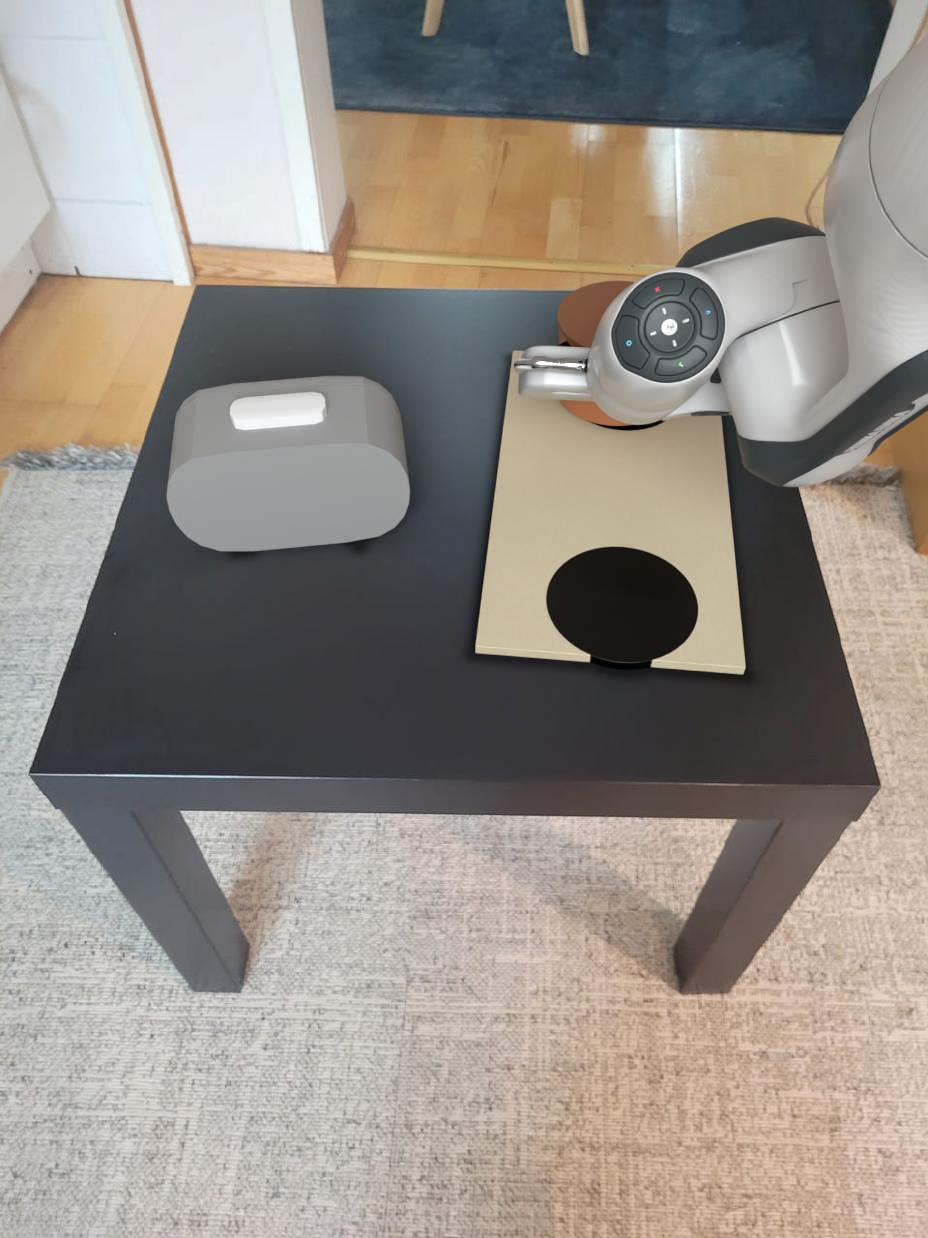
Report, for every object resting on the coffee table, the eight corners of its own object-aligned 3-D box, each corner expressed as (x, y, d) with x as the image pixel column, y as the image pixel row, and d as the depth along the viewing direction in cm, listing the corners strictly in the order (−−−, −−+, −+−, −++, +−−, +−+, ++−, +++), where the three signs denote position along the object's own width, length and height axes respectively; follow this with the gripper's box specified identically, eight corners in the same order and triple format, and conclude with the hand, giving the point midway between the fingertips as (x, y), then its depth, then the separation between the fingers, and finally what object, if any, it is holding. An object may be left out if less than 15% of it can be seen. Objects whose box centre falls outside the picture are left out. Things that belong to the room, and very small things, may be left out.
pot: (625, 338, 104) (638, 248, 96) (708, 394, 97) (730, 304, 89) (516, 392, 98) (519, 302, 90) (596, 456, 92) (608, 365, 83)
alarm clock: (405, 472, 92) (396, 356, 82) (414, 541, 86) (405, 427, 76) (194, 491, 91) (157, 376, 80) (188, 563, 85) (147, 449, 74)
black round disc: (693, 559, 84) (695, 551, 84) (700, 676, 76) (702, 669, 76) (549, 548, 85) (549, 541, 85) (540, 663, 77) (541, 656, 77)
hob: (714, 368, 102) (716, 361, 101) (743, 674, 76) (746, 667, 76) (512, 357, 104) (513, 349, 103) (475, 653, 78) (475, 646, 77)
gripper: (510, 399, 77) (514, 418, 90) (763, 414, 75) (728, 431, 89) (516, 320, 76) (518, 351, 90) (771, 334, 75) (734, 363, 88)
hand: (624, 391), depth 89 cm, fingers closed
